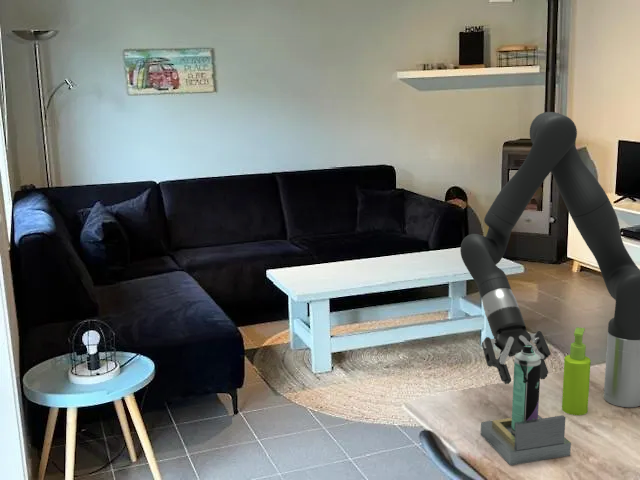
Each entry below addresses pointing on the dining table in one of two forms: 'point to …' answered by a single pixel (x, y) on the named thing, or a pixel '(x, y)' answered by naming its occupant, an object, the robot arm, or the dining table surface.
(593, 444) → the dining table surface
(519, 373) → the spray can
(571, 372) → the soap dispenser
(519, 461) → the grey and tan frame
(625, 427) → the dining table surface
